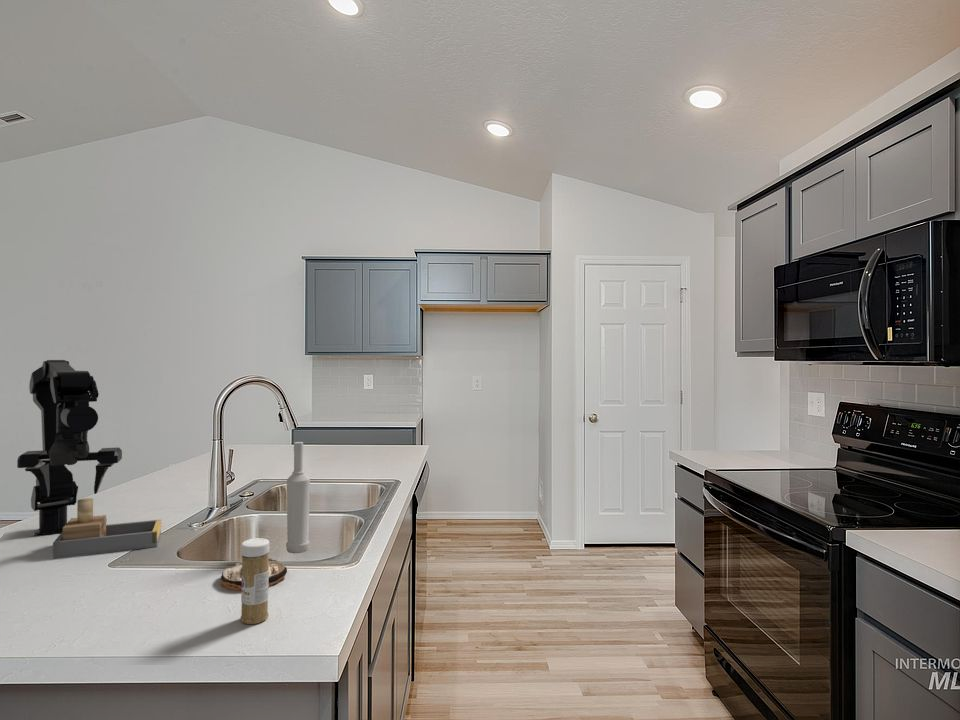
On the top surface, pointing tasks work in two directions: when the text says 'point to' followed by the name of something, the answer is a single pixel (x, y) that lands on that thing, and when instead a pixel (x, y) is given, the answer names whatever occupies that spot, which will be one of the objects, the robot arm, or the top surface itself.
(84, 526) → the tan block with peg
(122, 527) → the bay
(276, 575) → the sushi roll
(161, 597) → the top surface
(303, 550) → the bottle
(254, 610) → the sprinkles bottle
